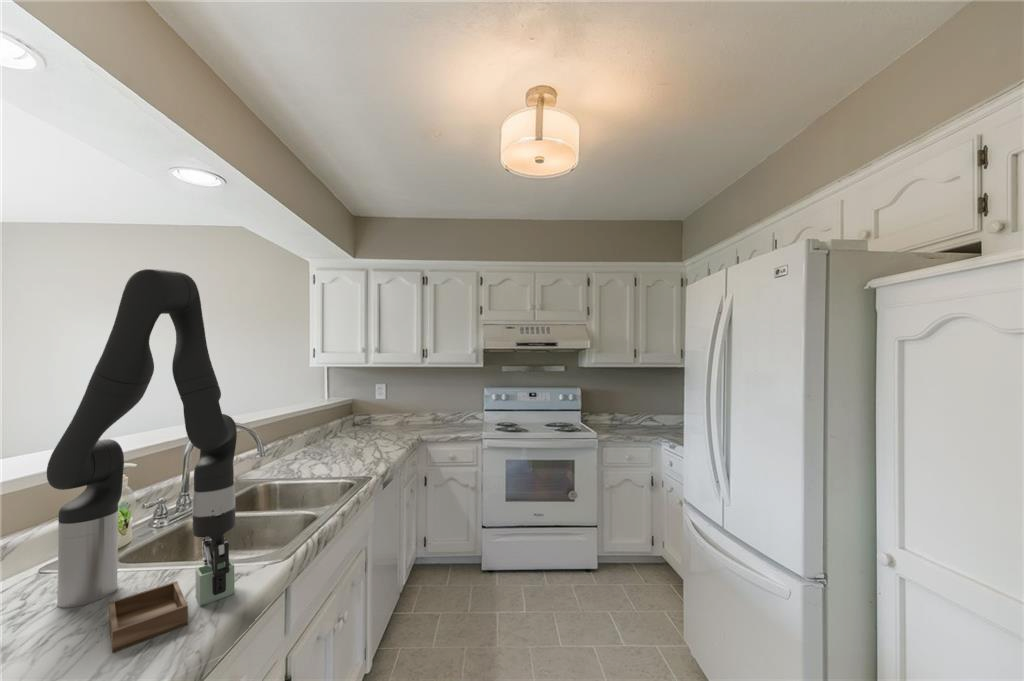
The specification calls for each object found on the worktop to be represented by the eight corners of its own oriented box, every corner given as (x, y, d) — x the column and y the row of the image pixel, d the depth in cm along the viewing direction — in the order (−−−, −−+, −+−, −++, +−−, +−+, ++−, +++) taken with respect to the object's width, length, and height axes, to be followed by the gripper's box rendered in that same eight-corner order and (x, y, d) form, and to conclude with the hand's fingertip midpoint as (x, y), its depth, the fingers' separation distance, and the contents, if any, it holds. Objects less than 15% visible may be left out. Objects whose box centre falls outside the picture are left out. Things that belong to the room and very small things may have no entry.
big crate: (109, 620, 82) (109, 602, 82) (176, 597, 90) (176, 580, 90) (112, 652, 73) (112, 632, 73) (187, 624, 80) (187, 605, 80)
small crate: (195, 596, 90) (195, 568, 90) (228, 585, 94) (228, 558, 94) (200, 606, 86) (200, 576, 86) (234, 593, 90) (234, 565, 91)
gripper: (187, 506, 93) (187, 581, 92) (198, 522, 83) (199, 606, 82) (227, 497, 98) (228, 568, 97) (243, 511, 88) (243, 590, 87)
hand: (215, 585), depth 90 cm, fingers open, 8 cm apart
